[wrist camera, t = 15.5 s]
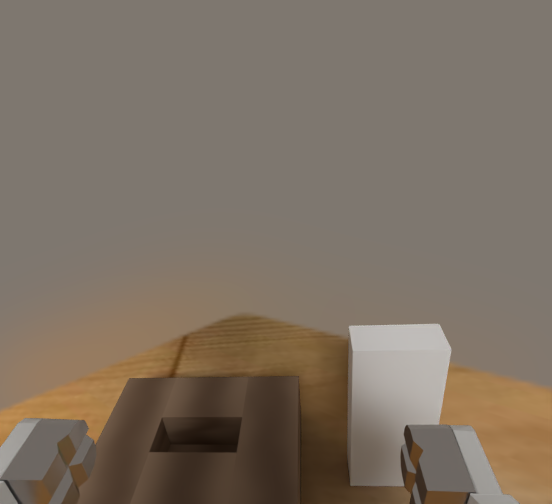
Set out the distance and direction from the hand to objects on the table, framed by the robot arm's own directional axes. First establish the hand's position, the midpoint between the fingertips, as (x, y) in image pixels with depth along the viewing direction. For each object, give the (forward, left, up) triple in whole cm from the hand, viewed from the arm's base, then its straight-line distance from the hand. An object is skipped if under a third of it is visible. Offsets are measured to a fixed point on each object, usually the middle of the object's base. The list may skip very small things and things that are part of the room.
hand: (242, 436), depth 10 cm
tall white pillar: (+7, +14, -23) cm, 28 cm away
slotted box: (-8, +14, -23) cm, 28 cm away
